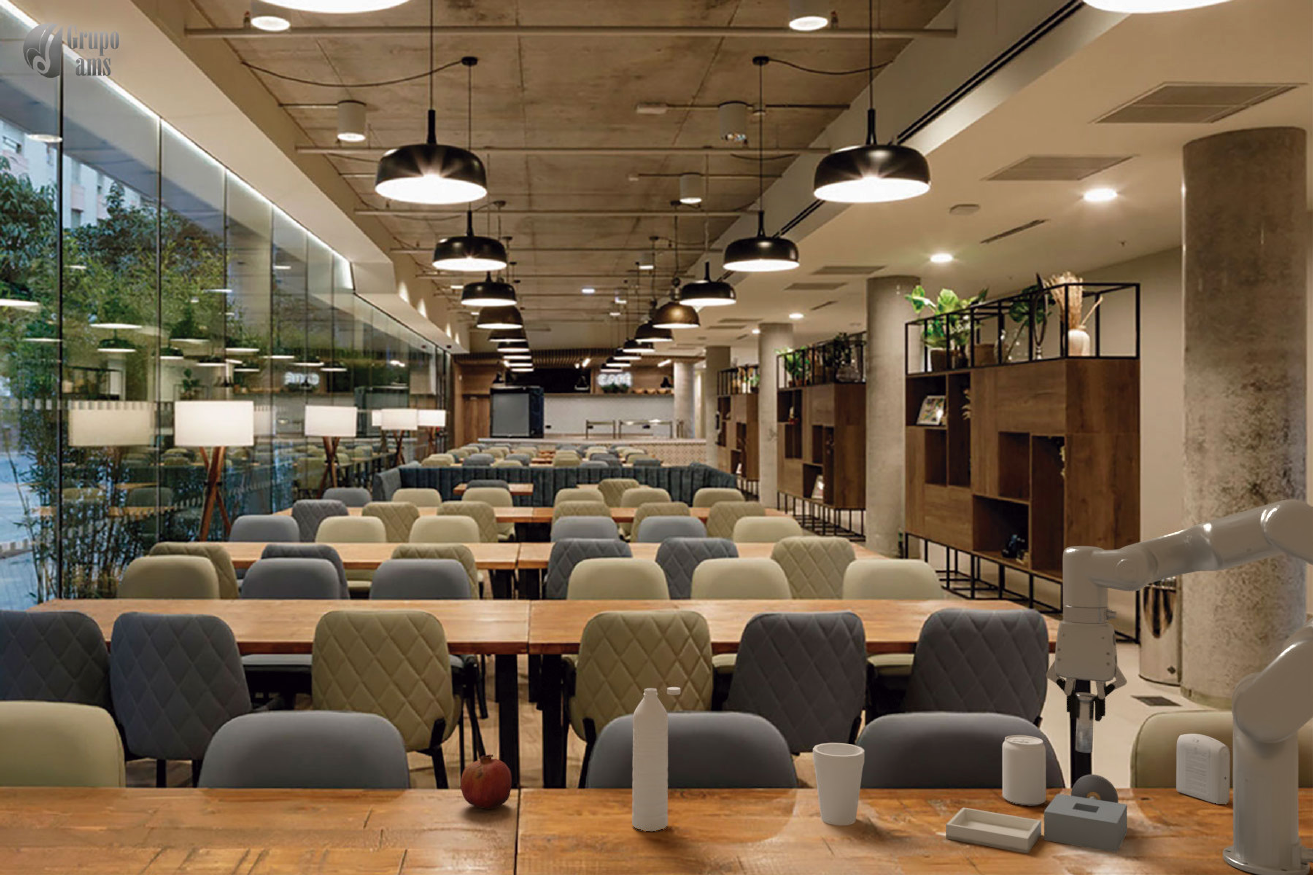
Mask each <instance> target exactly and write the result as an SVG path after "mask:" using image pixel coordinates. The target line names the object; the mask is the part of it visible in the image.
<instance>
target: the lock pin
mask: <svg viewBox="0 0 1313 875" xmlns="http://www.w3.org/2000/svg"><path fill="white" fill-rule="evenodd" d="M1096 698H1097V694H1095V693H1094V694H1093V693H1091V692H1090V693H1089V692H1075V699H1077V716H1076V724H1075V725H1076V727H1075V729H1076V731H1075V751H1077V752H1080V753H1084V754H1091V753H1093V744H1094V721H1095V699H1096Z"/></svg>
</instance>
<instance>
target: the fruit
mask: <svg viewBox="0 0 1313 875" xmlns="http://www.w3.org/2000/svg"><path fill="white" fill-rule="evenodd" d="M493 757H494V754H486V755H480V757H479V760H475V761H473V762H471V763H469V764H468V765H467V766H466V767H465V768H464V769H463V772H462V774H461V778H460V789H461V793H462V796H463V798H464V800H465V802H467V803H468V804H469V805H471V806H473V807H477V808H481V809H487V810H489V809H495V808H497V807H499V806H502V805H504V804H505V803H506V802H507V801H508V800H509V798H510V795H511V789H512V772H511V770H510V768H509V767H508V765H507V764H506V763H505V762H503V760H500V759H497V758H493Z"/></svg>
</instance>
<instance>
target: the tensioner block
mask: <svg viewBox="0 0 1313 875" xmlns="http://www.w3.org/2000/svg"><path fill="white" fill-rule="evenodd" d="M1127 833H1128V804H1126V803H1121V802H1120V803H1119V794H1118V792H1117V790H1116V788H1115V786H1114V785H1113V783H1112V782H1111V781H1110V780H1108V778H1105V777H1104V776H1102V775H1098V774H1092V773H1091V774H1086V775H1085V774H1084V775H1082V776H1081V777H1080V778H1078V779H1077V780H1076V782H1075V783H1074V784H1073V786H1072V787H1071V790H1070V795H1069V794H1068V795H1067V794H1062V793H1057V794H1056V795H1055V796H1054V798H1053V799H1052V800H1051V801H1050V802H1049V804H1048V805H1047V807H1046V808H1045V809H1044V811H1043V840H1044V841H1049V842H1055V843H1061V844H1067V845H1072V846H1079V847H1084V848H1089V849H1094V850H1100V851H1107V852H1111V853H1118V852H1119V850H1120V848H1121V846H1122V843H1123V841H1124V839H1125V838H1126V836H1127Z"/></svg>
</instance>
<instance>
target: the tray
mask: <svg viewBox="0 0 1313 875" xmlns="http://www.w3.org/2000/svg"><path fill="white" fill-rule="evenodd" d="M1041 836H1042V820H1041V819H1040V820H1039V819H1034V818H1027V817H1021V816H1018V815H1017V816H1016V815H1011V814H1004V813H999V812H992V811H986V810H982V809H975V808H967V807H962V808H960V810H958V811H957V813H956V814H955V815H953V816H952V818H951V819H950V820H949V821H947V823H945V839H946V840H947V839H948V840H952V841H959V842H964V843H969V844H974V845H979V846H985V847H990V848H996V849H1001V850H1005V851H1006V850H1007V851H1012V852H1017V853H1024V854H1029V852H1031V850H1032V848H1033V847H1034V845H1035V844H1036V843H1037V841H1038V840H1039V838H1040V837H1041Z"/></svg>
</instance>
